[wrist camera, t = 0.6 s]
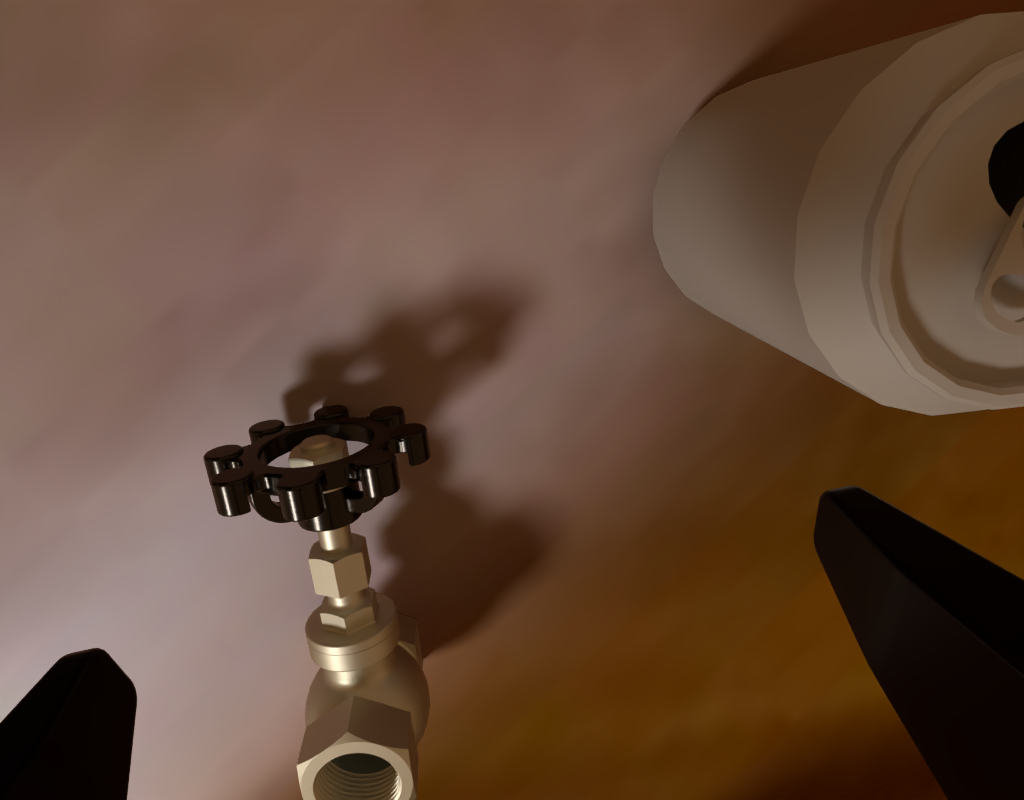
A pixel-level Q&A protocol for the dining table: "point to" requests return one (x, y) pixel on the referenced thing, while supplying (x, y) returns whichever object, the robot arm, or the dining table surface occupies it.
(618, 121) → the dining table surface
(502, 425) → the dining table surface
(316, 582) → the valve
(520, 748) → the dining table surface
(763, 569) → the dining table surface
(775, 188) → the can
